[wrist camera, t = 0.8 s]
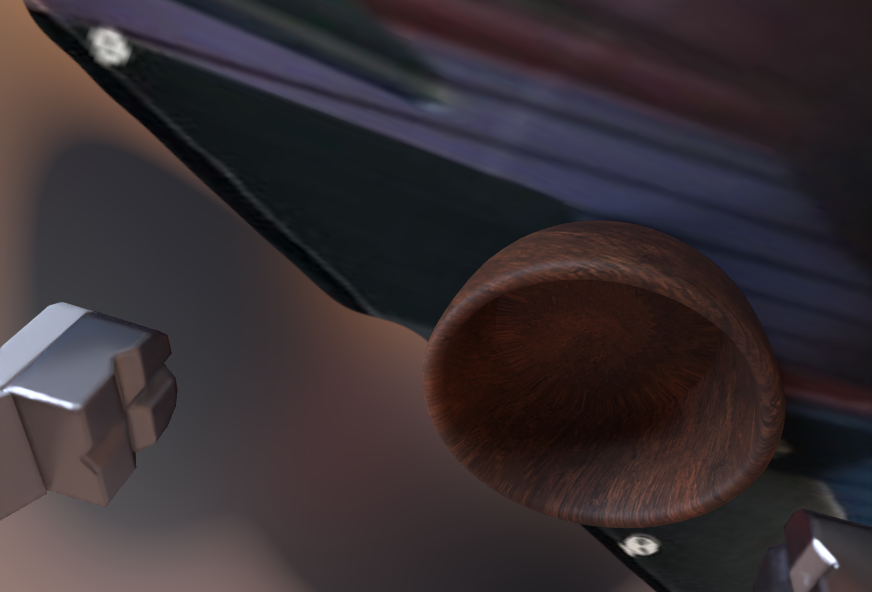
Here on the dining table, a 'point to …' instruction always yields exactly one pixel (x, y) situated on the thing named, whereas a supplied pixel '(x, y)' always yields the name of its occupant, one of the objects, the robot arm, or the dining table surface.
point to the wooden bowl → (605, 377)
